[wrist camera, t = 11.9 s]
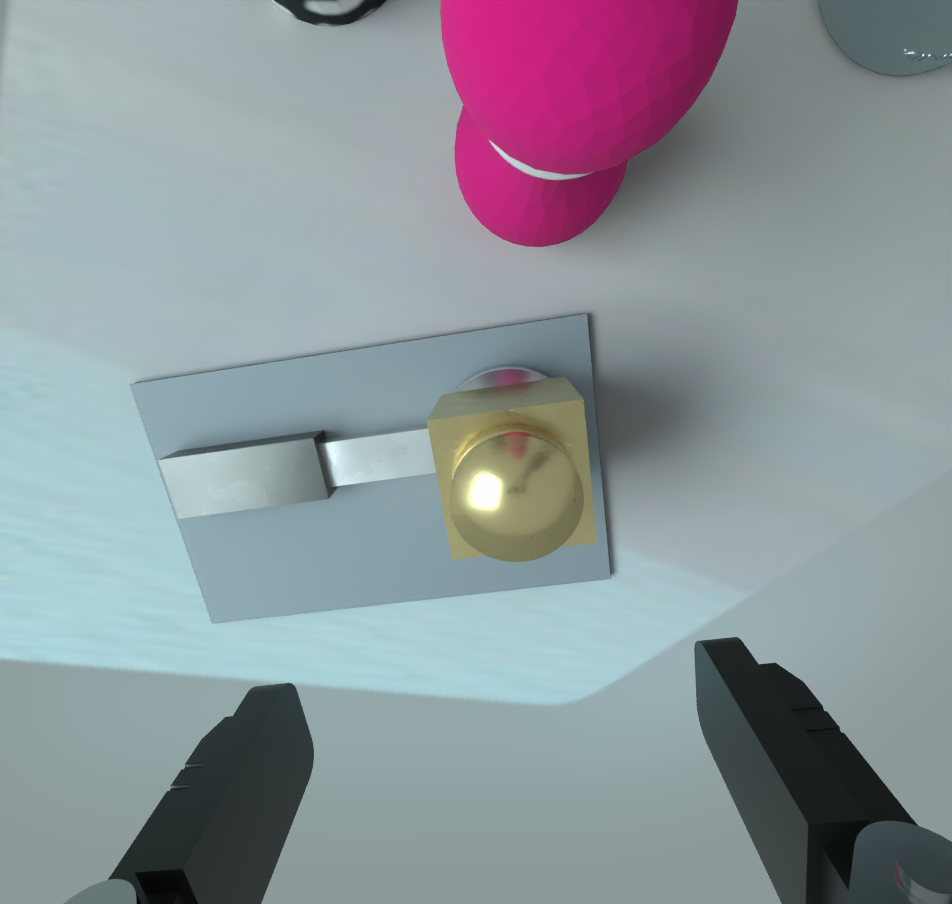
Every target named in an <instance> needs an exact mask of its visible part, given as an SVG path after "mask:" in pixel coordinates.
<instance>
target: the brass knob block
mask: <svg viewBox="0 0 952 904" xmlns="http://www.w3.org/2000/svg"><path fill="white" fill-rule="evenodd" d="M427 425H428V431H429V436H430V442H431V447H432V453H433V458H434V464H435V469H436V475H437V480H438V485H439V491H440V496H441V502H442V507H443V513H444V518H445V524H446V529H447V535H448V540H449V546H450V551H451V557H452V560H454V559H462V558H471V557H479V556H488V557H491V558H494V559H497V560H501V561H507V562H525V561H531V560H535V559H538V558H541V557H544V556H546V555H548V554H550V553H552V552H553V551H555V550H557V549H558V548H559V547H565V546H574V545H582V544H591V543H597V538H596V528H595V517H594V506H593V495H592V484H591V474H590V463H589V452H588V441H587V430H586V420H585V409H584V399H583V398H582V397H581V395H580V394H579V393H578V392H577V391H576V389H575V388H574V387H573V386H572V385H571V383H570V382H569V381H568V380H567V379H566V377H558V378H551V379H544V380H537V381H530V382H523V383H516V384H509V385H502V386H495V387H488V388H481V389H474V390H467V391H460V392H453V393H446V394H442V395H441V396H440V398H439V400H438V402H437V403H436V405H435V407H434V409H433V411H432V412H431V414H430V416H429V418H428V419H427Z"/></svg>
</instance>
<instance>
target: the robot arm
mask: <svg viewBox="0 0 952 904" xmlns="http://www.w3.org/2000/svg"><path fill="white" fill-rule="evenodd" d="M819 1H820V8H821V12H822V15H823V18H824V20H825V23H826V26H827V28H828V31H829V33H830V34H831V36H832V37H833V39H834V40H835V42H836V43H837V45H838V46H839V48H840V49H841V50H842V51H843V52H844V53H845V54H846V55H847V56H849V57H850V58H851V59H852V60H853V61H854V62H856V63H857V64H859V65H861V66H863V67H865V68H867V69H869V70H872V71H874V72H877V73H883V74H888V75H894V76H899V75H914V74H920V73H923V72H927V71H930V70H933V69H937V68H940V67H942V66H944V65H946V64H948V63H950V62H952V0H819ZM695 672H696V673H695V674H696V697H697V710H698V716H699V721H700V725H701V729H702V732H703V735H704V738H705V740H706V743H707V745H708V747H709V749H710V751H711V753H712V756H713V758H714V760H715V762H716V764H717V766H718V768H719V771H720V773H721V775H722V777H723V779H724V781H725V783H726V785H727V788H728V790H729V792H730V794H731V796H732V798H733V800H734V803H735V805H736V807H737V809H738V811H739V813H740V815H741V817H742V819H743V822H744V824H745V826H746V828H747V830H748V832H749V835H750V837H751V839H752V841H753V843H754V845H755V847H756V849H757V851H758V854H759V856H760V858H761V860H762V862H763V864H764V866H765V869H766V870H767V873H768V875H769V877H770V879H771V881H772V883H773V885H774V888H775V890H776V892H777V894H778V896H779V898H780V901H781V903H782V904H952V842H951V841H949V840H947V839H946V838H944V837H942V836H941V835H939V834H937V833H934V832H932V831H930V830H928V829H925V828H923V827H920V826H918V825H917V824H916V822H915V821H914V820H913V819H912V818H911V817H910V815H909V814H908V813H907V812H906V810H905V809H904V808H903V807H902V805H901V804H900V803H899V802H898V800H897V799H896V798H895V797H894V795H893V794H892V793H891V792H890V790H889V789H888V788H887V786H886V785H885V784H884V783H883V782H882V781H881V779H880V778H879V776H878V775H877V774H876V773H875V771H874V770H873V769H872V768H871V766H870V765H869V764H868V763H867V761H866V760H865V759H864V758H863V757H862V755H861V754H860V753H859V751H858V750H857V749H856V747H855V746H854V745H853V744H852V742H851V741H850V740H849V739H848V737H847V736H846V735H845V734H844V733H841V731H840V727H839V726H838V725H837V724H836V722H835V721H834V720H833V719H832V717H831V716H830V715H829V713H828V712H827V711H826V712H825V711H824V709H823V706H822V705H821V703H820V702H819V701H818V700H817V698H816V697H815V696H814V695H813V693H812V692H811V691H810V690H809V688H808V687H807V686H806V685H805V683H804V682H803V681H801V680H800V679H798V678H797V677H795V676H794V675H793V674H791V673H790V672H788V671H787V670H785V669H784V668H782V667H781V666H779V665H778V664H776V663H769V664H760V665H759V664H758V663H757V662H756V660H755V659H754V657H753V656H752V654H751V653H750V652H749V650H748V649H747V648H746V646H745V645H744V643H743V642H742V641H741V640H740V639H739V638H738V637H732V638H722V639H713V640H703V641H697V642H696V643H695ZM313 759H314V749H313V742H312V738H311V735H310V732H309V728H308V725H307V722H306V719H305V715H304V712H303V709H302V706H301V703H300V699H299V696H298V693H297V690H296V688H295V686H294V685H293V684H291V683H284V684H275V685H265V686H256V687H253V688H252V689H250V690H249V692H248V693H247V695H246V696H245V698H244V699H243V701H242V702H241V704H240V705H239V707H238V709H237V710H236V712H235V713H234V715H233V716H231V717H225V718H224V719H223V720H222V721H221V722H220V723H219V724H218V725H217V726H215V727H214V728H213V729H212V730H211V731H210V732H209V733H208V734H207V735H206V736H205V737H204V738H203V739H202V740H201V741H200V743H199V744H198V746H197V747H196V749H195V750H194V752H193V753H192V755H191V756H190V758H189V759H188V761H187V762H186V764H185V768H184V769H183V770H181V771H180V773H179V774H178V776H177V777H176V779H175V780H174V782H173V783H172V785H171V789H170V791H167V792H166V794H165V795H164V797H163V798H162V800H161V801H160V803H159V804H158V806H157V807H156V809H155V810H154V812H153V813H152V815H151V816H150V818H149V819H148V821H147V822H146V824H145V825H144V827H143V828H142V830H141V831H140V833H139V834H138V836H137V837H136V839H135V840H134V842H133V843H132V845H131V846H130V848H129V849H128V851H127V852H126V854H125V855H124V857H123V858H122V860H121V861H120V863H119V864H118V866H117V867H116V869H115V870H114V872H113V873H112V875H111V876H110V877H109V879H108V880H106V881H102V882H99V883H97V884H94V885H92V886H90V887H88V888H86V889H84V890H82V891H81V892H79V893H77V894H76V895H74V896H73V897H71V898H70V899H69V900H67V901H66V902H65V903H64V904H261V902H262V900H263V897H264V895H265V892H266V889H267V887H268V884H269V882H270V879H271V877H272V874H273V872H274V869H275V866H276V864H277V861H278V858H279V856H280V853H281V851H282V848H283V846H284V843H285V840H286V838H287V835H288V833H289V830H290V828H291V825H292V822H293V820H294V817H295V815H296V812H297V810H298V807H299V805H300V802H301V799H302V797H303V794H304V792H305V789H306V786H307V784H308V781H309V779H310V776H311V771H312V768H313Z"/></svg>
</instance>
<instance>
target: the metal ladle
mask: <svg viewBox="0 0 952 904" xmlns="http://www.w3.org/2000/svg"><path fill="white" fill-rule="evenodd" d="M544 379H551V377H549V376H548V375H546V374H544V373H542V372H540V371H538V370H536V369H533V368H530V367H527V366H521V365H510V364H507V365H497V366H493V367H489V368H486V369H483V370H480V371H478V372H476V373H475V374H473V375H471V376H470V377H468V378H467V379H465V380H464V381H463V382H462V383H461V384H460V385H459V386H457V388H456V389H455V390H454V391H453V392H460V391H467V390H474V389H481V388H488V387H495V386H502V385H509V384H516V383H523V382H530V381H537V380H544ZM453 392H452V393H453ZM158 461H159V464H160V467H161V470H162V473H163V476H164V479H165V481H166V484H167V487H168V490H169V493H170V496H171V499H172V502H173V505H174V508H175V510H176V513H177V516H178V519H181V518H188V517H196V516H204V515H211V514H219V513H226V512H234V511H242V510H249V509H257V508H265V507H272V506H280V505H288V504H295V503H303V502H310V501H318V500H326V499H329V498H330V497H331V496H332V494H333V493H334V492H335V491H336V490H337V488H338V486H342V485H349V484H357V483H364V482H372V481H380V480H387V479H395V478H402V477H410V476H417V475H425V474H432V473H436V469H435V464H434V458H433V453H432V447H431V442H430V436H429V431H428V425H427V424H423V425H416V426H409V427H402V428H394V429H387V430H380V431H373V432H366V433H359V434H352V435H345V436H338V437H331V438H326V437H325V433H324V430H320V431H313V432H306V433H299V434H292V435H284V436H277V437H270V438H263V439H256V440H249V441H242V442H235V443H228V444H221V445H214V446H207V447H200V448H193V449H186V450H179V451H176V452H174V453H172V454H170V455H168V456H165V457H163V458H161V459H159V460H158Z"/></svg>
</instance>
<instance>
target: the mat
mask: <svg viewBox="0 0 952 904" xmlns="http://www.w3.org/2000/svg"><path fill="white" fill-rule="evenodd" d="M507 364H510V365H521V366H527V367H530V368H533V369H536V370H538V371H540V372H542V373H544V374H546V375H548V376H549V377H551V378H558V377H566V379H567V380H568V381H569V382H570V383H571V385H572V386H573V387H574V388H575V389H576V391H577V392H578V393H579V394H580V395H581V397H582V398H583V399H584V409H585V420H586V430H587V441H588V452H589V463H590V474H591V484H592V495H593V506H594V517H595V528H596V538H597V543H591V544H582V545H574V546H565V547H559V548H558V549H557V550H555V551H553V552H552V553H550V554H548V555H546V556H544V557H541V558H538V559H535V560H531V561H525V562H507V561H501V560H497V559H494V558H491V557H488V556H479V557H471V558H462V559H454V560H452V557H451V551H450V546H449V540H448V535H447V529H446V524H445V518H444V513H443V507H442V502H441V496H440V491H439V485H438V480H437V475H436V473H432V474H425V475H417V476H410V477H402V478H395V479H387V480H380V481H372V482H364V483H357V484H349V485H342V486H338V488H337V490H336V491H335V492H334V493H333V494H332V496H331V497H330V498H329V499H326V500H318V501H310V502H303V503H295V504H288V505H280V506H272V507H265V508H257V509H249V510H242V511H234V512H226V513H219V514H211V515H204V516H196V517H188V518H181V519H178V516H177V513H176V510H175V508H174V505H173V502H172V499H171V496H170V493H169V490H168V487H167V484H166V481H165V479H164V476H163V473H162V470H161V467H160V464H159V461H158V460H159V459H161V458H163V457H165V456H168V455H170V454H172V453H174V452H176V451H179V450H186V449H193V448H200V447H207V446H214V445H221V444H228V443H235V442H242V441H249V440H256V439H263V438H270V437H277V436H284V435H292V434H299V433H306V432H313V431H320V430H324V433H325V437H326V438H331V437H338V436H345V435H352V434H359V433H366V432H373V431H380V430H387V429H394V428H402V427H409V426H416V425H423V424H427V419H428V418H429V416H430V414H431V412H432V411H433V409H434V407H435V405H436V403H437V402H438V400H439V398H440V396H441V395H442V394H446V393H452V392H453V391H454V390H455V389H456V388H457V386H459V385H460V384H461V383H462V382H463V381H464V380H465V379H467V378H468V377H470V376H471V375H473V374H475V373H476V372H478V371H480V370H483V369H486V368H489V367H493V366H497V365H507ZM130 388H131V391H132V393H133V396H134V399H135V402H136V405H137V408H138V411H139V414H140V417H141V419H142V422H143V425H144V428H145V431H146V434H147V437H148V440H149V443H150V445H151V448H152V451H153V454H154V457H155V460H156V463H157V466H158V469H159V471H160V474H161V477H162V480H163V483H164V486H165V489H166V492H167V495H168V497H169V500H170V503H171V506H172V509H173V512H174V515H175V518H176V521H177V524H178V526H179V529H180V532H181V535H182V538H183V541H184V544H185V547H186V550H187V552H188V555H189V558H190V561H191V564H192V567H193V570H194V573H195V576H196V578H197V581H198V584H199V587H200V590H201V593H202V596H203V599H204V602H205V604H206V607H207V610H208V613H209V616H210V619H211V622H212V624H214V623H223V622H232V621H241V620H250V619H259V618H268V617H277V616H285V615H294V614H303V613H312V612H321V611H330V610H339V609H347V608H356V607H365V606H374V605H383V604H392V603H401V602H409V601H418V600H427V599H436V598H445V597H454V596H463V595H472V594H480V593H489V592H498V591H507V590H516V589H525V588H534V587H542V586H551V585H560V584H569V583H578V582H587V581H596V580H604V579H611V578H610V567H609V556H608V545H607V533H606V522H605V511H604V500H603V488H602V477H601V466H600V455H599V443H598V432H597V421H596V410H595V398H594V387H593V376H592V365H591V353H590V342H589V331H588V319H587V314H579V315H573V316H567V317H560V318H554V319H547V320H541V321H534V322H528V323H521V324H515V325H508V326H502V327H495V328H489V329H483V330H476V331H470V332H463V333H457V334H450V335H444V336H437V337H431V338H424V339H418V340H411V341H405V342H399V343H392V344H386V345H379V346H373V347H366V348H360V349H353V350H347V351H340V352H334V353H327V354H321V355H315V356H308V357H302V358H295V359H289V360H282V361H276V362H269V363H263V364H256V365H250V366H243V367H237V368H231V369H224V370H218V371H211V372H205V373H198V374H192V375H185V376H179V377H172V378H166V379H159V380H153V381H147V382H140V383H134V384H130Z"/></svg>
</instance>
